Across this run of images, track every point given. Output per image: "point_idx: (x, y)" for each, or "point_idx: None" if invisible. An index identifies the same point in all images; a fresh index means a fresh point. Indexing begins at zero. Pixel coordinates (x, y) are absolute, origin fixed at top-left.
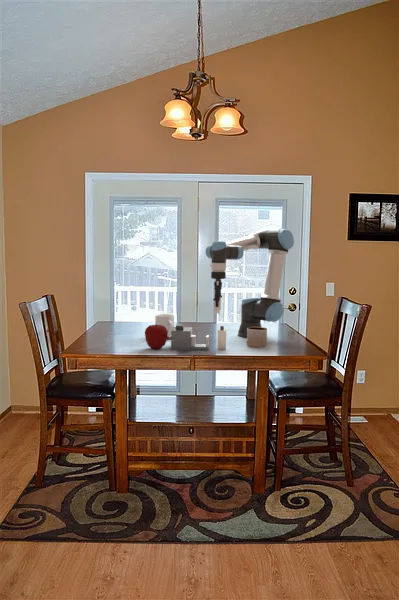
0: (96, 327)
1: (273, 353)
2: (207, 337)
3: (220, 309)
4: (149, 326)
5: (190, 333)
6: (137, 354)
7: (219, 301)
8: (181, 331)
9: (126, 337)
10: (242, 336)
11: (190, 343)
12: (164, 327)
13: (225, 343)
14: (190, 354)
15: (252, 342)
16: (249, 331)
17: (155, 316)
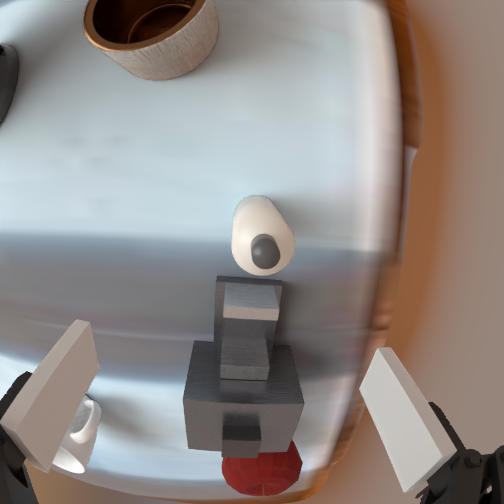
0: (57, 471)
1: (342, 4)
2: (277, 313)
3: (87, 327)
4: (275, 494)
5: (302, 396)
6: (327, 443)
7: (450, 446)
8: (295, 427)
9: (123, 462)
10: (2, 119)
11: (293, 364)
12: (272, 472)
13: (270, 203)
14: (354, 340)
15: (206, 49)
16: (175, 43)
17: (74, 469)
